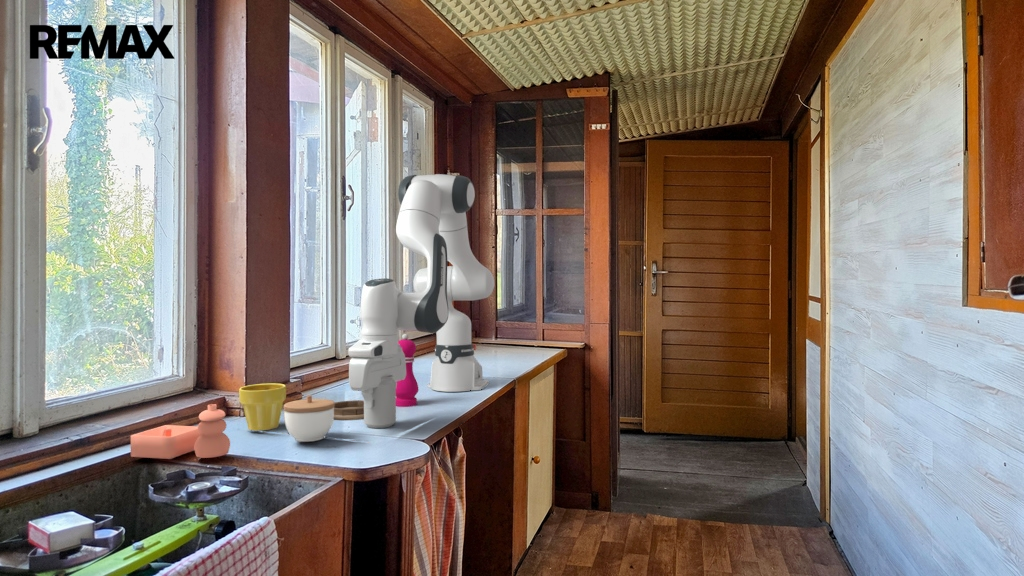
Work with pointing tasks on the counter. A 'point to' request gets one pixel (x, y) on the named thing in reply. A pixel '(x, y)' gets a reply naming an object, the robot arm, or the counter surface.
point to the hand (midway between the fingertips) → (379, 404)
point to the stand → (349, 410)
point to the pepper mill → (407, 376)
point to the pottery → (184, 438)
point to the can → (382, 405)
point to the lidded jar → (309, 418)
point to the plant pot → (262, 405)
